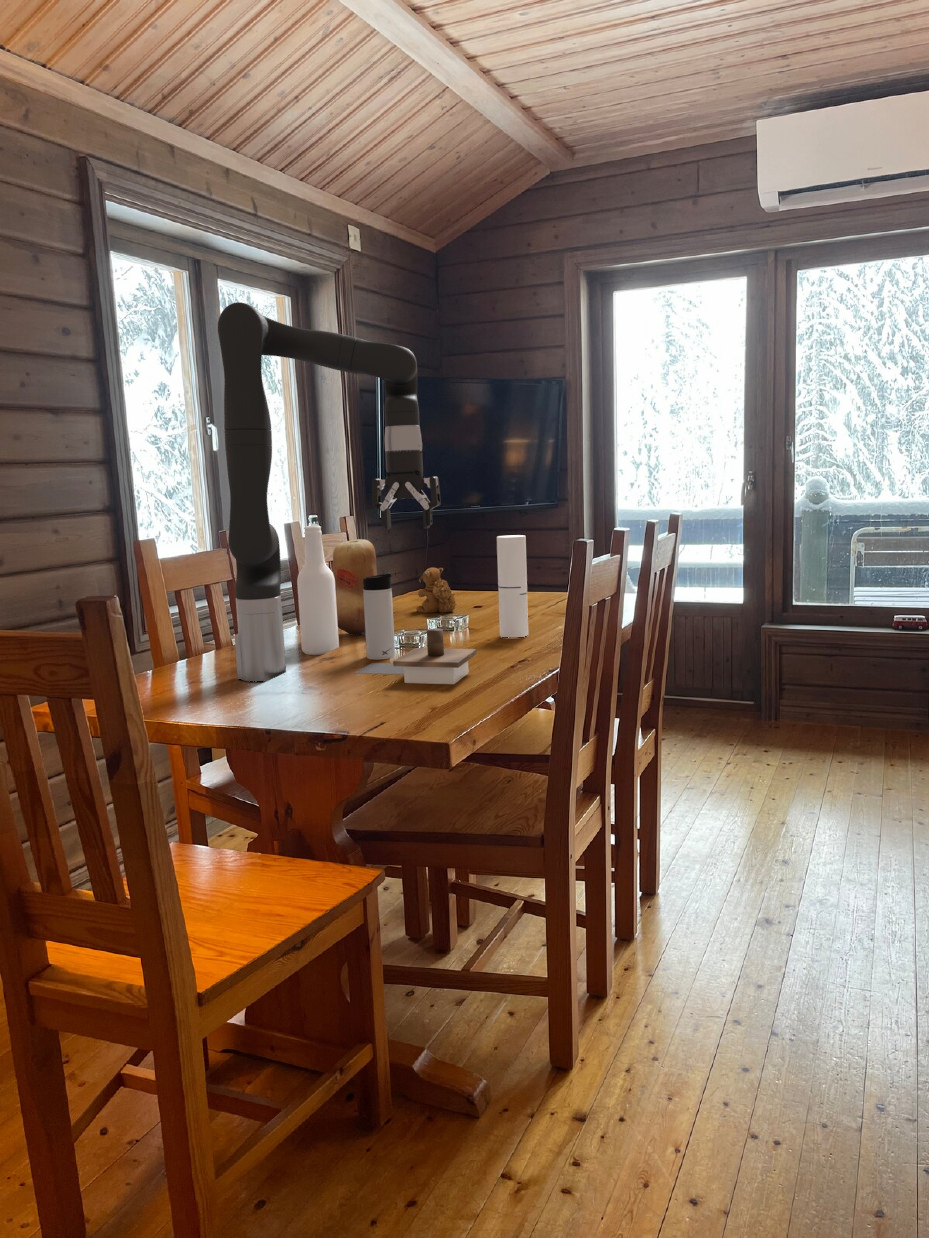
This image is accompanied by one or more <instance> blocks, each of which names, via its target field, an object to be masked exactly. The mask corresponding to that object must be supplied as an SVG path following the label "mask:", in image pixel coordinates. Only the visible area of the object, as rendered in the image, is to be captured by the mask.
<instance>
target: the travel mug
mask: <svg viewBox="0 0 929 1238" xmlns="http://www.w3.org/2000/svg"><path fill="white" fill-rule="evenodd" d="M393 575H394V574H393V572H388V573H385V574H384V573H382V574H377V575H376V576H370V577H366V579H363V585H364V586H363V591H364V593H363V596H364V613H365V631H366V634H365V648H366V656H367V657H366V658H367V659H369V660H388V659H392V658H395V657H396V650H395V649H396V647H395V627H394V609H393V592H392V589H393V588H392V577H393Z"/></svg>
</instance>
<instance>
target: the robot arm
mask: <svg viewBox="0 0 929 1238" xmlns="http://www.w3.org/2000/svg"><path fill="white" fill-rule="evenodd" d="M217 334H218V339H219V340H218V341H219V345H220V352H221V359H222V367H223V378H224V384H223V385H224V386H223V388H224V389H223V391H224V393H223V410H224V411H223V413H224V414H223V417H224V418H223V421H224V422H223V423H224V424H223V425H224V426H223V427H224V447H225V457H226V468H227V469H226V470H227V479H228V486H229V496H230V497H229V498H230V499H229V500H230V501H229V502H230V503H229V505H230V506H229V528H228V537H227V538H228V539H227V541H228V548H229V551H230V553H231V555H232V557H233V558H234V559H235V567H236V578H235V584H234V594H235V606H236V608H235V609H236V620H237V632H238V633H236V634H234V644H235V645H234V646H235V647H234V649H235V658H236V661H235V662H236V671H237V672H236V673H237V680H238V679H241V680H242V681H245V682H250V681H253V682H252V683H258V682H257V681H263V682H269V681H271V680H273V679H275V678H277V677H279V676H282V675H283V674H285V673H287V665H286V663H287V662H286V651H285V650H286V648H285V637H284V636H285V635H284V624H283V623H284V621H283V605H282V593H281V584H282V583H281V582H282V567H281V564H282V563H281V550H280V549H281V548H280V546H281V545H280V539H279V535H278V532H277V530H276V528H275V527H274V526H273V525H272V524H271V522H270V517H269V507H268V490H269V489H268V488H269V482H270V475H271V468H272V460H273V436H272V423H271V416H270V410H269V409H270V408H269V404H268V399H267V396H266V391H265V388H264V382H263V375H262V373H263V372H262V356H268V357H270V356H272V357H281V358H285V359H286V358H287V359H293V360H298V361H302V362H305V363H309V364H313V365H317V366H321V367H324V368H328V369H332V370H336V371H340V372H344V373H349V374H352V375H362V376H363V375H368V376H371V377H375V378H379V379H383V382H384V384H383V385H384V393H385V394H384V395H385V401H384V427H385V429H384V451H385V453H384V454H385V470H386V477H385V479H381V478H373V479H372V480H371V507H372V508H373V509H377V510H379V511H380V512H381V513H380V514H381V525H382V527H383V528H384V529H385V530H390V529H392V515H391V514H392V513H391V510H390V509H391V507H392V506H393V504H394V503H395V502H396V500H403V499H404V500H405V499H407V500H413V499H415V500H416V501H417V502H418V503H419V504H420V505H421V507H422V508H423V510H422V521H423V525H422V526H423V529H430V528H431V526H432V525H433V510H434V509H435V508H436V507H439V506H441V505H442V504H441V503H442V501H441V499H442V498H441V488H440V481H439V480H440V479H439V477H438V476H431V477H425V476H424V465H423V442H422V432H421V427H420V425H421V424H420V408H419V402H418V401H419V400H418V362H417V357H416V356H415V354H414V352H413V351H411V350H410V349H409V348H407V347H404V346H400V345H397V344H392V343H385V342H384V343H383V342H379V341H369V340H367V339H362V338H360V337H355V336H352V335H346V334H342V333H339V332H332V331H327V330H326V331H324V330H317V329H306V328H300V327H295V326H292V325H288V324H285V323H281V322H279V321H277V320H274V319H271V318H269V317H267V316H264V315H263V314H262V313H261V312H260V311H259V310H258V309H256V308H255V307H254V306H252V305H251V304H248V303H245V302H240V301H239V302H232V303H231V304H228V305H227V306H226V307H224V309H223V310H222V312H221V313H220V315H219V317H218V320H217ZM425 485H427V486H426V487H427V488H428V489H430V499H431V501H430V499H429V498H428V496H427V494H426V493H425V492H424V490H423V489H424V486H425ZM385 487H387V489H388V493H387V495H386V496H385V498H384V500H383V501H382V499H383V498H382V490H384V488H385ZM241 680H240V681H241ZM254 681H255V682H254Z"/></svg>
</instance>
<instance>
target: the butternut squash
mask: <svg viewBox="0 0 929 1238" xmlns="http://www.w3.org/2000/svg"><path fill="white" fill-rule="evenodd" d="M332 552H333V553H332V562H333V563H332V564H333V565H332V568H333V569H332V570H333V571H332V572H333V575H334V578H335V586H336V607H337V624H338V630H339V629H340V630H341V631H343V632H345V633H347V635H348V634H349V635H350V636H360V637H362V636H364V635H365V636H366V631H365V613H364V596H363V593H364V591H363V586H364V585H363V579H366V577H370V576H376V575H378V570H377V556H376V548H375V546H374V544H373V543H372V542H371V541H370V540H367V539H361V538H359V539H358V538H357V539H353V540H351V539H350V540H347V541H344V542H340V543H339V544H337V545H336V546H335V548H334V549H333V551H332Z"/></svg>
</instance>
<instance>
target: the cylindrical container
mask: <svg viewBox="0 0 929 1238" xmlns="http://www.w3.org/2000/svg"><path fill="white" fill-rule="evenodd" d="M526 538H527V537H526V535H523V534H522V535H521V534H516V535H515V534H514V535H510V534H509V535H498V536H496V555H497V585H498V589H497V590H498V615H499V616H498V617H499V621H498V622H499V637H500V638H502V637H508V638H507V639H510V638H509V637H524V638H526V637H525V636H527V635H528V636H529V617H528V616H529V615H528V614H529V610H528V608H529V607H528V605H529V604H528V583H527V582H528V574H527V572H528V571H527V569H528V568H527V567H528V566H527V540H526ZM528 636H527V637H528Z"/></svg>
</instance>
